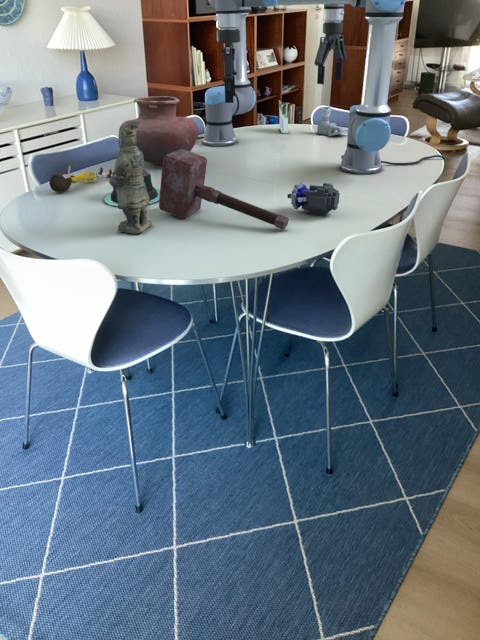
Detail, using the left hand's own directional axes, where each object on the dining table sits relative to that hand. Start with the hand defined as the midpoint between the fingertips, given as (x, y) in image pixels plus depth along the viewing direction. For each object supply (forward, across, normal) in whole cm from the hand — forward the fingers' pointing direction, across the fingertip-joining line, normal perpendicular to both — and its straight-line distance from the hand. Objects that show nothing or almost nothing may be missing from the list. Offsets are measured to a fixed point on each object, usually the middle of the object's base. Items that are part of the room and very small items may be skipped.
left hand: (329, 82), depth 222 cm
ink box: (+28, +23, +38) cm, 52 cm away
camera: (+28, +29, +14) cm, 42 cm away
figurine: (+28, -92, +46) cm, 106 cm away
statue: (+28, -110, -2) cm, 113 cm away
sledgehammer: (+28, -89, -19) cm, 95 cm away
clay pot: (+28, -54, +44) cm, 75 cm away
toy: (+27, -68, -37) cm, 82 cm away
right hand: (0, -55, +6) cm, 55 cm away
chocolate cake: (+28, -90, +20) cm, 96 cm away
